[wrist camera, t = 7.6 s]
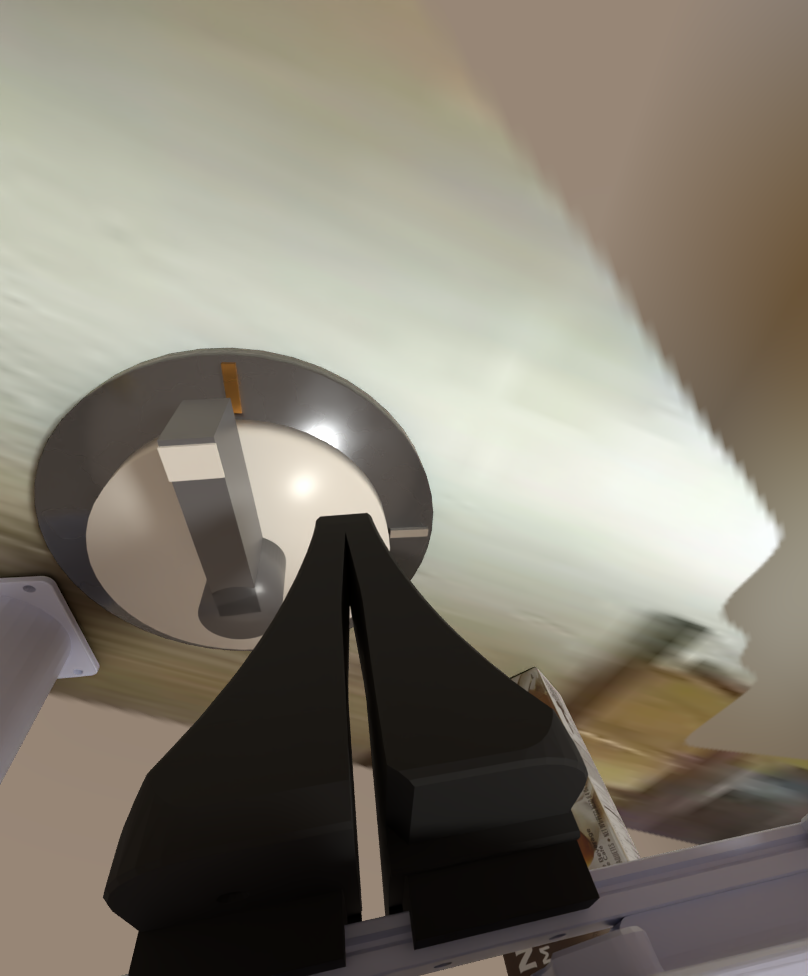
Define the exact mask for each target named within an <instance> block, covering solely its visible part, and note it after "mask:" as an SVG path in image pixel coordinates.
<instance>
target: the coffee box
mask: <svg viewBox="0 0 808 976" xmlns="http://www.w3.org/2000/svg"><path fill="white" fill-rule="evenodd" d="M512 680H513V681H514V682H516V683H517V684H518V685H520V686H521V687H522V688H524V689H525V690H526V691H528V692H529V693H531V694H532V695H533V696H535V697H536V698H538V699H539V700H541V701H542V702H543V703H545V704H546V705H548V706H549V707H551V708H552V709H554V711H555V712H556V714H557V715H558V717H559V718H560V720H561V722H562V723H563V725H564V726H565V728H566V729H567V731H568V733H569V734H570V736H571V738H572V739H573V741H574V743H575V745H576V746H577V748H578V750H579V752H580V754H581V757H582V759H583V761H584V763H585V766H586V768H587V772H588V778H587V781H586V784H585V786H584V789H583V791H582V792H581V794H580V795H579V797H578V799H577V800H576V802H575V803H574V805H573V807H572V808H571V811H572V813H573V815H574V818H575V820H576V823H577V825H578V827H579V830H580V836H581V837H580V838H579V839H578V840H577V842H578V844H579V847H580V849H581V852H582V854H583V857H584V859H585V862H586V864H587V867H588V869H589V870H592V869H596V868H601V867H605V866H610V865H614V864H618V863H623V862H627V861H632V860H636V859H641V857H640V855H639V853H638V851H637V849H636V847H635V845H634V843H633V841H632V839H631V837H630V835H629V833H628V831H627V829H626V827H625V825H624V823H623V821H622V819H621V817H620V815H619V813H618V811H617V809H616V807H615V805H614V803H613V801H612V799H611V797H610V795H609V793H608V791H607V788H606V786H605V784H604V782H603V780H602V778H601V776H600V774H599V772H598V770H597V768H596V766H595V764H594V762H593V760H592V758H591V756H590V754H589V752H588V750H587V748H586V746H585V744H584V742H583V740H582V738H581V736H580V734H579V732H578V730H577V728H576V726H575V724H574V722H573V720H572V718H571V716H570V714H569V712H568V710H567V708H566V706H565V704H564V701H563V699H562V697H561V695H560V694H559V693H558V691H557V690H556V689H555V688H554V687H553V686H552V684H551V683H550V682H549V681H548V680H547V678H546V677H545V676H544V675H543V674H542V673H541V672H540V670H539V669H538V668H536V667H535V668H532V669H530V670H528V671H526V672H524V673H522V674H520V675H518V676H516V677H514V678H512ZM610 929H611V928H608V929H604V930H600V931H596V932H592V933H588V934H584V935H580V936H576V937H572V938H568V939H564V940H560V941H556V942H552V943H548V944H544V945H540V946H536V947H532V948H528V949H524V950H520V951H516V952H512V953H508V954H504V955H503V957H504V961H505V965H506V969H507V973H508V976H530V975H532V974H534V973H536V972H537V971H539V970H541V969H542V968H544V967H546V966H547V965H548V964H549V963H550V961H551V957H552V954H553V953H554V952H557V951H559V950H562V949H565V948H568V947H570V946H573V945H576V944H579V943H581V942H584V941H587V940H590V939H592V938H595V937H598V936H601V935H604V934H606V933H609V932H610Z"/></svg>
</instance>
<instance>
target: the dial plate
mask: <svg viewBox="0 0 808 976" xmlns="http://www.w3.org/2000/svg"><path fill="white" fill-rule="evenodd" d="M216 398H230V399H231V404H232V408H233V412H234V416H235V419H248V420H257V421H266V422H271V423H276V424H280V425H285V426H289V427H292V428H295V429H298V430H300V431H303V432H306V433H309V434H311V435H313V436H315V437H317V438H319V439H321V440H323V441H325V442H327V443H329V444H330V445H332V446H333V447H335V448H336V449H338V450H340V451H341V452H342V453H344V454H345V455H346V456H347V457H348V458H350V459H351V460H352V461H353V462H354V463H355V464H356V465H357V466H358V467H359V468H360V469H361V470H362V471H363V472H364V474H365V475H366V476H367V477H368V479H369V480H370V482H371V483H372V485H373V486H374V488H375V490H376V492H377V494H378V496H379V498H380V501H381V503H382V507H383V511H384V514H385V519H386V524H387V529H388V534H389V543H390V553H391V554H392V556H393V557H394V559H395V560H396V562H397V563H398V565H399V566H400V568H401V569H402V570H403V572H404V573H405V575H406V576H407V577H408V579H409V580H411V579H412V578H413V576H414V574H415V573H416V571H417V569H418V568H419V566H420V564H421V562H422V560H423V557H424V555H425V553H426V550H427V548H428V544H429V540H430V536H431V531H432V520H433V507H432V496H431V491H430V487H429V483H428V480H427V476H426V473H425V471H424V468H423V465H422V463H421V461H420V459H419V456H418V454H417V452H416V449H415V447H414V445H413V444H412V442H411V441H410V439H409V438H408V436H407V434H406V433H405V431H404V430H403V428H402V427H401V426H400V425H399V424H398V423H397V421H396V420H395V419H394V418H393V417H392V416H391V414H390V413H389V412H388V411H387V410H386V409H385V408H384V407H382V406H381V405H380V404H379V403H378V402H377V401H376V400H374V399H373V398H372V397H371V396H370V395H369V394H367V393H366V392H364V391H363V390H361V389H360V388H358V387H357V386H355V385H354V384H352V383H351V382H349V381H348V380H346V379H344V378H342V377H340V376H338V375H336V374H334V373H332V372H330V371H328V370H326V369H324V368H322V367H319V366H316V365H314V364H311V363H308V362H305V361H302V360H299V359H296V358H294V357H289V356H285V355H280V354H276V353H271V352H266V351H260V350H250V349H239V348H210V349H196V350H190V351H184V352H177V353H171V354H167V355H164V356H161V357H157V358H154V359H151V360H148V361H144V362H141V363H139V364H137V365H135V366H133V367H131V368H128V369H126V370H124V371H122V372H120V373H118V374H116V375H114V376H113V377H111V378H110V379H108V380H107V381H105V382H104V383H103V384H101V385H100V386H98V387H97V388H95V389H94V390H92V391H91V392H90V393H89V394H88V395H87V396H86V397H85V398H83V399H82V400H81V401H80V402H79V403H78V404H77V405H76V406H75V407H74V408H73V409H72V410H71V411H70V412H69V413H68V414H67V415H66V416H65V417H64V418H63V419H62V420H61V422H60V423H59V425H58V426H57V428H56V429H55V430H54V432H53V433H52V435H51V436H50V438H49V439H48V441H47V444H46V446H45V448H44V451H43V453H42V455H41V458H40V460H39V464H38V469H37V474H36V479H35V508H36V513H37V518H38V522H39V527H40V529H41V532H42V534H43V537H44V539H45V541H46V544H47V546H48V548H49V550H50V551H51V553H52V555H53V556H54V558H55V560H56V561H57V563H58V564H59V566H60V567H61V568H62V570H63V571H64V572H65V573H66V574H67V576H68V577H69V578H70V579H71V580H72V582H73V583H74V584H75V585H76V586H78V587H79V588H80V589H81V590H82V591H83V592H84V593H85V594H86V595H87V596H88V597H89V598H91V599H92V600H93V601H95V602H96V603H98V604H99V605H100V606H102V607H103V608H104V609H106V610H107V611H109V612H110V613H112V614H114V615H115V616H117V617H119V618H121V619H122V620H124V621H126V622H128V623H130V624H132V625H134V626H136V627H138V628H141V629H143V630H145V631H147V632H150V633H153V634H156V635H158V636H161V637H164V638H167V639H170V640H174V641H178V642H181V643H185V644H189V645H195V646H200V647H205V648H212V649H222V650H236V651H252V650H253V649H248V650H239V649H223V648H216V647H209V646H204V645H199V644H195V643H190V642H187V641H184V640H181V639H177V638H174V637H172V636H169V635H167V634H164V633H162V632H159V631H157V630H155V629H153V628H152V627H150V626H148V625H146V624H144V623H142V622H141V621H139V620H138V619H136V618H135V617H133V616H132V615H130V614H129V613H128V612H127V611H125V610H124V609H123V608H122V607H121V606H119V605H118V604H117V603H116V602H115V601H114V600H113V599H112V597H111V596H110V595H109V594H108V593H107V592H106V591H105V589H104V588H103V586H102V585H101V583H100V582H99V580H98V579H97V577H96V575H95V573H94V571H93V568H92V566H91V564H90V560H89V556H88V552H87V545H86V530H87V524H88V518H89V516H90V513H91V510H92V508H93V505H94V503H95V501H96V500H97V498H98V496H99V495H100V493H101V492H102V490H103V488H104V487H105V486H106V484H107V483H108V481H109V480H110V479H111V477H112V476H113V475H114V473H115V472H116V470H117V469H118V468H119V467H120V466H121V464H122V463H123V462H124V461H125V460H126V459H127V458H128V457H129V456H130V455H131V454H132V453H134V452H135V451H136V450H137V449H139V448H140V447H141V446H143V445H144V444H145V443H147V442H149V441H151V440H153V439H154V438H156V437H158V436H160V435H161V433H162V432H163V430H164V429H165V427H166V425H167V424H168V422H169V421H170V419H171V418H172V416H173V415H174V413H175V411H176V410H177V408H178V407H179V405H180V404H181V402H182V401H183V400H197V399H216ZM352 627H354V626H353V620H352V617H351V618H350V626H349V629H350V628H352Z"/></svg>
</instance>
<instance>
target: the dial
mask: <svg viewBox="0 0 808 976" xmlns="http://www.w3.org/2000/svg"><path fill="white" fill-rule="evenodd" d="M358 513H368V514H369V515H371V517H372V519H373V522H374V524H375V526H376V528H377V530H378V532H379V534H380V536H381V538H382V539H383V541H384V543H385V545H386V546H387V548H388V550H389V551H390V543H389V534H388V529H387V524H386V519H385V514H384V511H383V507H382V503H381V501H380V498H379V496H378V494H377V492H376V490H375V488H374V486H373V485H372V483H371V482H370V480H369V479H368V477H367V476H366V475H365V474H364V472H363V471H362V470H361V469H360V468H359V467H358V466H357V465H356V464H355V463H354V462H353V461H352V460H351V459H350V458H348V457H347V456H346V455H345V454H344V453H342V452H341V451H340V450H338V449H336V448H335V447H333V446H332V445H330V444H329V443H327V442H325V441H323V440H321V439H319V438H317V437H315V436H313V435H311V434H309V433H306V432H303V431H300V430H298V429H295V428H292V427H289V426H285V425H280V424H276V423H271V422H266V421H257V420H248V419H235V416H234V412H233V408H232V404H231V399H230V398H216V399H197V400H183V401H182V402H181V404H180V405H179V407H178V408H177V410H176V411H175V413H174V415H173V416H172V418H171V419H170V421H169V422H168V424H167V425H166V427H165V429H164V430H163V432H162V433H161V435H160V436H158V437H156V438H154V439H153V440H151V441H149V442H147V443H145V444H144V445H143V446H141V447H140V448H139V449H137V450H136V451H135V452H134V453H132V454H131V455H130V456H129V457H128V458H127V459H126V460H125V461H124V462H123V463H122V464H121V466H120V467H119V468H118V469H117V470H116V472H115V473H114V475H113V476H112V477H111V479H110V480H109V481H108V483H107V484H106V486H105V487H104V488H103V490H102V492H101V493H100V495H99V496H98V498H97V500H96V501H95V503H94V505H93V508H92V510H91V513H90V516H89V518H88V524H87V530H86V545H87V552H88V556H89V560H90V564H91V566H92V568H93V571H94V573H95V575H96V577H97V579H98V580H99V582H100V583H101V585H102V586H103V588H104V589H105V591H106V592H107V593H108V594H109V595H110V596H111V597H112V599H113V600H114V601H115V602H116V603H117V604H118V605H119V606H121V607H122V608H123V609H124V610H125V611H127V612H128V613H129V614H130V615H132V616H133V617H135V618H136V619H138V620H139V621H141V622H142V623H144V624H146V625H148V626H150V627H152V628H153V629H155V630H157V631H159V632H162V633H164V634H167V635H169V636H172V637H174V638H177V639H181V640H184V641H187V642H190V643H195V644H199V645H204V646H209V647H216V648H223V649H239V650H248V649H254V648H255V646H256V645H257V643H258V642H259V641H260V639H261V638H262V636H263V634H264V633H265V631H266V630H267V628H268V627H269V625H270V623H271V622H272V620H273V619H274V617H275V615H276V613H277V612H278V610H279V608H280V607H281V605H282V603H283V601H284V599H285V597H286V595H287V593H288V592H289V590H290V588H291V586H292V584H293V582H294V580H295V578H296V576H297V574H298V571H299V569H300V567H301V564H302V562H303V560H304V557H305V555H306V553H307V550H308V547H309V545H310V542H311V539H312V536H313V532H314V528H315V523H316V520H317V519H318V518H319V517H320V516H332V515H345V514H358ZM351 617H352V614H351V609H350V618H351Z"/></svg>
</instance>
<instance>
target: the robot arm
mask: <svg viewBox="0 0 808 976" xmlns="http://www.w3.org/2000/svg"><path fill="white" fill-rule="evenodd" d="M350 609H351V614H352V620H353V626H354V631H355V637H356V642H357V647H358V653H359V658H360V664H361V669H362V675H363V680H364V687H365V694H366V701H367V712H368V723H369V734H370V745H371V756H372V767H373V777H374V789H375V800H376V811H377V824H378V835H379V845H380V858H381V870H382V882H383V893H384V905H385V916H384V917H379V918H375V919H370V920H366V921H362V915H361V911H362V901H361V887H360V871H359V856H358V841H357V826H356V811H355V795H354V781H353V765H352V749H351V734H350V718H349V702H348V671H349V626H350ZM99 667H100V666H99V663H98V661H97V660H96V658H95V656H94V654H93V652H92V650H91V648H90V646H89V644H88V643H87V641H86V639H85V637H84V635H83V633H82V631H81V629H80V628H79V626H78V624H77V622H76V620H75V618H74V616H73V614H72V612H71V611H70V609H69V607H68V605H67V603H66V601H65V599H64V597H63V595H62V594H61V592H60V590H59V588H58V586H57V584H56V582H55V581H54V580H53V579H51V578H50V577H46V576H31V577H12V578H0V784H1V782H2V780H3V778H4V777H5V775H6V773H7V771H8V769H9V767H10V765H11V763H12V761H13V760H14V758H15V756H16V754H17V752H18V750H19V749H20V747H21V744H22V743H23V741H24V739H25V737H26V735H27V733H28V732H29V730H30V728H31V726H32V724H33V722H34V720H35V719H36V717H37V715H38V713H39V711H40V709H41V707H42V705H43V704H44V701H45V700H46V698H47V696H48V694H49V692H50V690H51V689H52V687H53V685H54V683H55V681H56V679H59V678H70V677H80V676H90V675H94V674H96V673H97V672H98V669H99ZM587 778H588V772H587V768H586V766H585V763H584V761H583V759H582V757H581V754H580V752H579V750H578V748H577V746H576V745H575V743H574V741H573V739H572V738H571V736H570V734H569V733H568V731H567V729H566V728H565V726H564V725H563V723H562V722H561V720H560V718H559V717H558V715H557V714H556V712H555V711H554V709H552V708H551V707H549V706H548V705H546V704H545V703H543V702H542V701H541V700H539V699H538V698H536V697H535V696H533V695H532V694H531V693H529V692H528V691H526V690H525V689H524V688H522V687H521V686H520V685H518V684H517V683H516V682H514V681H513V680H512V679H510V678H509V677H508V676H506V675H505V674H504V673H503V672H501V671H500V670H499V669H498V668H496V667H495V666H494V665H493V664H491V663H490V662H489V661H488V660H487V659H486V658H484V657H483V656H482V655H481V654H480V653H479V652H478V651H476V650H475V649H474V648H473V647H472V646H471V645H470V644H469V643H467V642H466V641H465V640H464V639H463V638H462V637H461V636H460V635H459V634H457V633H456V632H455V631H454V630H453V629H452V628H451V627H450V626H449V625H448V624H447V623H446V622H445V621H444V620H443V619H442V617H441V616H440V615H439V614H438V613H437V612H436V611H435V610H434V609H433V608H432V607H431V605H430V604H429V603H428V602H427V601H426V600H425V599H424V597H423V596H422V595H421V594H420V593H419V591H418V590H417V589H416V588H415V586H414V585H413V584H412V582H411V581H410V580H409V579H408V577H407V576H406V575H405V573H404V572H403V570H402V569H401V568H400V566H399V565H398V563H397V562H396V560H395V559H394V557H393V556H392V554H391V553H390V551H389V550H388V548H387V546H386V545H385V543H384V541H383V539H382V538H381V536H380V534H379V532H378V530H377V528H376V526H375V524H374V522H373V519H372V517H371V515H369V514H368V513H358V514H345V515H332V516H320V517H319V518H318V519H317V520H316V523H315V528H314V532H313V536H312V539H311V542H310V545H309V547H308V550H307V553H306V555H305V557H304V560H303V562H302V564H301V567H300V569H299V571H298V574H297V576H296V578H295V580H294V582H293V584H292V586H291V588H290V590H289V592H288V593H287V595H286V597H285V599H284V601H283V603H282V605H281V607H280V608H279V610H278V612H277V613H276V615H275V617H274V619H273V620H272V622H271V623H270V625H269V627H268V628H267V630H266V631H265V633H264V634H263V636H262V638H261V639H260V641H259V642H258V643H257V645H256V646H255V648H254V649H253V650H252V652H251V653H250V655H249V656H248V658H247V659H246V660H245V662H244V663H243V665H242V666H241V667H240V669H239V670H238V671H237V673H236V674H235V675H234V677H233V678H232V679H231V680H230V682H229V683H228V684H227V685H226V686H225V688H224V689H223V690H222V691H221V692H220V694H219V695H218V696H217V697H216V699H215V700H214V701H213V702H212V703H211V705H210V706H209V707H208V708H207V709H206V711H205V712H204V713H203V714H202V715H201V717H200V718H199V719H198V720H197V721H196V722H195V723H194V725H193V726H192V727H191V728H190V729H189V730H188V731H187V732H186V733H185V734H184V735H183V736H182V737H181V739H180V740H179V741H178V742H177V743H176V744H175V745H174V746H173V747H172V748H171V749H170V750H169V751H168V752H167V753H166V755H165V756H164V757H163V758H162V759H161V760H160V761H159V762H158V763H157V764H156V765H155V766H154V767H153V768H152V769H151V770H150V772H149V773H148V774H147V775H146V777H145V779H144V781H143V783H142V786H141V788H140V790H139V792H138V794H137V797H136V799H135V801H134V803H133V806H132V808H131V811H130V813H129V816H128V818H127V820H126V822H125V825H124V827H123V830H122V833H121V836H120V839H119V842H118V846H117V849H116V853H115V856H114V859H113V863H112V867H111V870H110V874H109V877H108V880H107V884H106V887H105V891H104V895H103V898H104V900H105V901H106V903H107V904H108V906H109V907H110V909H111V910H112V911H113V912H114V913H115V914H117V915H118V916H120V917H121V918H122V919H124V920H125V921H126V922H128V923H129V924H130V925H132V926H133V927H134V928H136V929H137V930H138V931H139V932H138V936H137V940H136V944H135V949H134V953H133V957H132V961H131V965H130V970H129V974H126V975H122V976H420V975H424V974H428V973H432V972H436V971H440V970H444V969H448V968H452V967H456V966H459V965H463V964H468V963H471V962H476V961H480V960H483V959H488V958H492V957H496V956H500V955H504V954H508V953H512V952H516V951H520V950H524V949H528V948H532V947H536V946H540V945H544V944H548V943H552V942H556V941H560V940H564V939H568V938H572V937H576V936H580V935H584V934H588V933H592V932H596V931H600V930H604V929H608V928H611V929H610V932H609V933H606V934H604V935H601V936H598V937H595V938H592V939H590V940H587V941H584V942H581V943H579V944H576V945H573V946H570V947H568V948H565V949H562V950H559V951H557V952H554V953H553V954H552V957H551V961H550V963H549V964H548V965H547V966H546V967H544V968H542V969H541V970H539V971H537V972H536V973H534V974H532V975H530V976H808V814H807V815H806V816H805V817H803V818H802V820H801V822H800V823H796V824H791V825H787V826H782V827H778V828H774V829H769V830H765V831H760V832H756V833H751V834H747V835H743V836H738V837H734V838H729V839H725V840H720V841H716V842H711V843H707V844H703V845H698V846H694V847H689V848H685V849H680V850H676V851H672V852H667V853H663V854H659V855H654V856H650V857H645V858H641V859H636V860H632V861H627V862H623V863H618V864H614V865H610V866H605V867H601V868H596V869H592V870H589V869H588V867H587V864H586V862H585V859H584V857H583V854H582V852H581V849H580V847H579V844H578V842H577V840H578V839H579V838H580V837H581V836H580V830H579V827H578V825H577V823H576V820H575V818H574V815H573V813H572V811H571V808H572V807H573V805H574V803H575V802H576V800H577V799H578V797H579V795H580V794H581V792H582V791H583V789H584V786H585V784H586V781H587Z"/></svg>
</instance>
